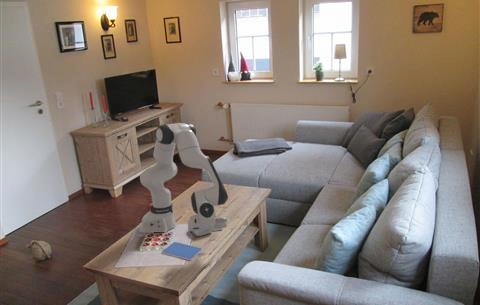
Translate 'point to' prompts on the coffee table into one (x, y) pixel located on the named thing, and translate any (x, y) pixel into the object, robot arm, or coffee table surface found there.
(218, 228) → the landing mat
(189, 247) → the tablet computer
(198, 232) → the photo printer
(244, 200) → the coffee table surface
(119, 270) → the coffee table surface
